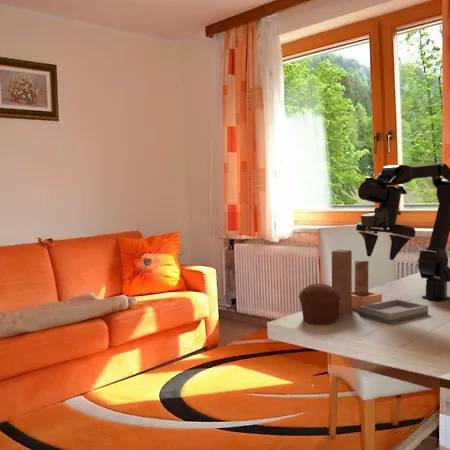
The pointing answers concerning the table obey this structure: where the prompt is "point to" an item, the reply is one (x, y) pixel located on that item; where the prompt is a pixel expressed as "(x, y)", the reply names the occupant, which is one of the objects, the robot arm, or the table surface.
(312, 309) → the muffin
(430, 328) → the table surface
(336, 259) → the wooden block
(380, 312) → the tray
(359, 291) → the dowel pin
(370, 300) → the orange square ring
